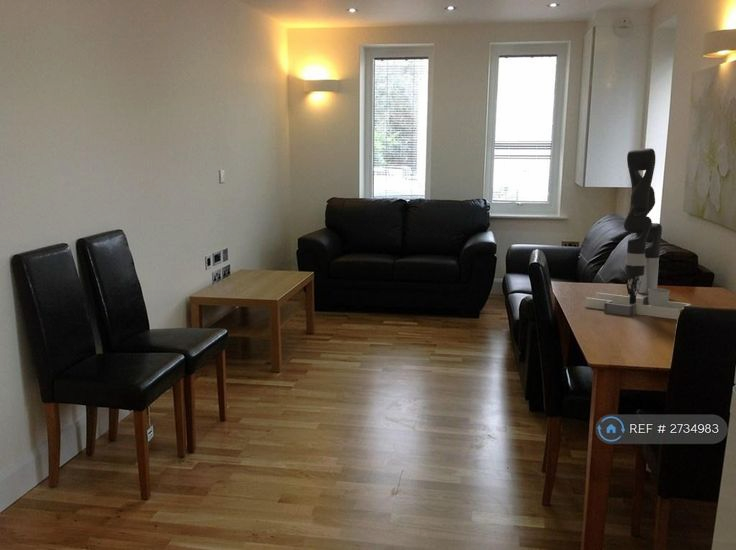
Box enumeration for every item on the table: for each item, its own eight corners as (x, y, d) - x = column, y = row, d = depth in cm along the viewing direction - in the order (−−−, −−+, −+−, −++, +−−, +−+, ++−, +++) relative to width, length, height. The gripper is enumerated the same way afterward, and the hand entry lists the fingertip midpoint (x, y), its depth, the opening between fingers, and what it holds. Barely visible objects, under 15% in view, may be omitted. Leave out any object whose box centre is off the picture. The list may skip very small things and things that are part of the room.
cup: (670, 313, 267) (672, 289, 265) (665, 317, 261) (666, 292, 259) (649, 310, 272) (651, 287, 270) (644, 314, 266) (645, 290, 264)
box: (600, 299, 294) (601, 290, 294) (693, 310, 271) (693, 301, 270) (580, 309, 275) (581, 300, 275) (678, 322, 252) (679, 312, 251)
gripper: (630, 260, 278) (628, 300, 281) (621, 264, 268) (618, 305, 271) (648, 262, 274) (646, 302, 277) (640, 266, 263) (637, 307, 266)
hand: (632, 303), depth 274 cm, fingers closed
